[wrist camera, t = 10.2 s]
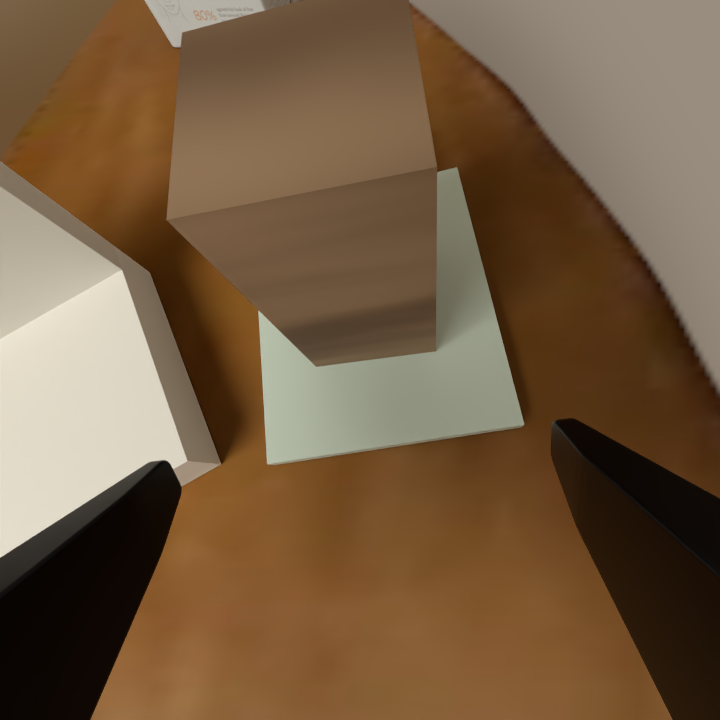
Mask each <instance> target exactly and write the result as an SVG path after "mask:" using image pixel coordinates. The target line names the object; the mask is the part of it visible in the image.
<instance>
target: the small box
mask: <svg viewBox="0 0 720 720" xmlns="http://www.w3.org/2000/svg"><path fill="white" fill-rule="evenodd" d="M298 1H301V0H145V2H146V4H147V5H148V7H149V9H150V10H151V12H152V13H153V15H154V17H155V18H156V20H157V22H158V23H159V25H160V27H161V28H162V30H163V31H164V33H165V35H166V36H167V38H168V39H169V41H170V43H171V44H172V46H173V47H181V38H182V32H186V31H190V30H194V29H197V28H201V27H205V26H208V25H212V24H216V23H220V22H223V21H227V20H231V19H235V18H238V17H242V16H246V15H249V14H253V13H257V12H261V11H264V10H268V9H272V8H276V7H279V6H283V5H287V4H291V3H294V2H298Z"/></svg>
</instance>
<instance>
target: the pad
mask: <svg viewBox="0 0 720 720" xmlns="http://www.w3.org/2000/svg"><path fill="white" fill-rule="evenodd" d="M259 328H260V346H261V363H262V381H263V399H264V417H265V434H266V452H267V464H270V465H278V464H285V463H291V462H298V461H305V460H311V459H318V458H324V457H331V456H337V455H344V454H351V453H357V452H364V451H370V450H377V449H383V448H390V447H396V446H403V445H410V444H416V443H423V442H429V441H436V440H442V439H449V438H455V437H462V436H469V435H475V434H482V433H488V432H495V431H501V430H508V429H514V428H520V427H522V426H523V425H524V421H523V417H522V414H521V410H520V406H519V402H518V398H517V394H516V391H515V387H514V383H513V379H512V375H511V372H510V368H509V364H508V360H507V356H506V352H505V349H504V345H503V341H502V337H501V333H500V329H499V326H498V322H497V318H496V314H495V310H494V307H493V303H492V299H491V295H490V291H489V287H488V284H487V280H486V276H485V272H484V268H483V264H482V261H481V257H480V253H479V249H478V245H477V242H476V238H475V234H474V230H473V226H472V222H471V219H470V215H469V211H468V207H467V203H466V199H465V196H464V192H463V188H462V184H461V180H460V177H459V173H458V169H457V167H456V168H452V169H448V170H443V171H439V172H437V278H436V351H435V352H427V353H419V354H411V355H404V356H396V357H388V358H381V359H373V360H365V361H358V362H350V363H342V364H335V365H327V366H319V367H316V366H315V365H314V364H313V363H312V362H311V361H310V360H309V359H308V358H307V357H306V356H305V355H304V354H303V353H302V352H301V351H299V350H298V349H297V348H296V347H295V346H294V345H293V344H292V343H291V342H290V341H289V340H288V339H287V338H286V337H285V336H284V335H283V334H282V333H281V332H280V331H279V330H278V329H277V328H276V327H275V326H274V325H273V324H272V323H271V322H270V321H269V320H268V319H267V318H266V317H265V316H264V315H263V314H262V313H261V312H260V311H259Z"/></svg>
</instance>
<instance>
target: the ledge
mask: <svg viewBox="0 0 720 720" xmlns="http://www.w3.org/2000/svg"><path fill="white" fill-rule="evenodd" d="M159 460H166V461H168V462H169V463H170V464H171V466H172V468H173V470H174V472H175V474H176V476H177V478H178V480H179V482H180V484H181V487H182V486H183V485H185V484H187V483H189V482H191V481H192V480H194V479H196V478H198V477H199V476H201V475H203V474H205V473H207V472H208V471H210V470H212V469H214V468H216V467H217V466H219V465H221V462H220V459H219V457H218V454H217V451H216V449H215V446H214V443H213V441H212V438H211V435H210V433H209V430H208V427H207V424H206V422H205V419H204V416H203V414H202V411H201V408H200V406H199V403H198V400H197V398H196V395H195V392H194V390H193V387H192V384H191V381H190V379H189V376H188V373H187V371H186V368H185V365H184V363H183V360H182V357H181V355H180V352H179V349H178V347H177V344H176V341H175V338H174V336H173V333H172V330H171V328H170V325H169V322H168V320H167V317H166V314H165V312H164V309H163V306H162V304H161V301H160V298H159V295H158V293H157V290H156V287H155V285H154V282H153V279H152V277H151V274H150V272H149V271H147V270H146V269H145V268H143V267H142V266H141V265H139V264H138V263H137V262H135V261H134V260H133V259H131V258H130V257H129V256H127V255H126V254H124V253H123V252H122V251H120V250H119V249H118V248H116V247H115V246H114V245H112V244H111V243H110V242H108V241H107V240H106V239H104V238H103V237H102V236H100V235H99V234H97V233H96V232H95V231H93V230H92V229H91V228H89V227H88V226H87V225H85V224H84V223H83V222H81V221H80V220H79V219H77V218H76V217H75V216H73V215H72V214H70V213H69V212H68V211H66V210H65V209H64V208H62V207H61V206H60V205H58V204H57V203H56V202H54V201H53V200H52V199H50V198H49V197H48V196H46V195H45V194H43V193H42V192H41V191H39V190H38V189H37V188H35V187H34V186H33V185H31V184H30V183H29V182H27V181H26V180H25V179H23V178H22V177H21V176H19V175H18V174H17V173H15V172H14V171H12V170H11V169H10V168H8V167H7V166H6V165H4V164H3V163H2V162H0V557H2V556H4V555H5V554H7V553H8V552H10V551H11V550H13V549H14V548H16V547H18V546H19V545H21V544H22V543H24V542H25V541H27V540H28V539H30V538H32V537H33V536H35V535H36V534H38V533H39V532H41V531H42V530H44V529H46V528H47V527H49V526H50V525H52V524H53V523H55V522H56V521H58V520H60V519H61V518H63V517H64V516H66V515H67V514H69V513H70V512H72V511H74V510H75V509H77V508H78V507H80V506H81V505H83V504H84V503H86V502H88V501H89V500H91V499H92V498H94V497H95V496H97V495H99V494H100V493H102V492H103V491H105V490H106V489H108V488H109V487H111V486H113V485H114V484H116V483H117V482H119V481H120V480H122V479H123V478H125V477H127V476H128V475H130V474H131V473H133V472H134V471H136V470H137V469H139V468H141V467H142V466H144V465H145V464H147V463H149V462H151V461H159Z"/></svg>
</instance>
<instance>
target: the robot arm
mask: <svg viewBox="0 0 720 720" xmlns="http://www.w3.org/2000/svg"><path fill="white" fill-rule="evenodd" d="M551 456H552V460H553V463H554V466H555V469H556V472H557V474H558V477H559V480H560V483H561V485H562V488H563V491H564V494H565V497H566V499H567V502H568V505H569V508H570V510H571V513H572V516H573V518H574V521H575V524H576V526H577V528H578V530H579V533H580V535H581V537H582V539H583V541H584V543H585V545H586V547H587V549H588V551H589V553H590V555H591V557H592V559H593V561H594V563H595V565H596V567H597V569H598V571H599V573H600V575H601V577H602V579H603V581H604V583H605V585H606V587H607V589H608V591H609V593H610V595H611V597H612V599H613V601H614V603H615V605H616V607H617V609H618V611H619V613H620V615H621V617H622V619H623V621H624V623H625V625H626V627H627V629H628V631H629V633H630V635H631V637H632V639H633V641H634V643H635V645H636V647H637V649H638V651H639V653H640V655H641V657H642V659H643V661H644V663H645V665H646V667H647V669H648V671H649V673H650V675H651V677H652V679H653V681H654V683H655V685H656V687H657V689H658V691H659V693H660V695H661V697H662V699H663V701H664V703H665V705H666V707H667V709H668V711H669V713H670V715H671V717H672V719H673V720H720V499H719V498H718V497H716V496H714V495H712V494H710V493H709V492H707V491H705V490H703V489H701V488H699V487H698V486H696V485H694V484H692V483H690V482H689V481H687V480H685V479H683V478H681V477H680V476H678V475H676V474H674V473H672V472H670V471H669V470H667V469H665V468H663V467H661V466H660V465H658V464H656V463H654V462H652V461H651V460H649V459H647V458H645V457H643V456H642V455H640V454H638V453H636V452H634V451H632V450H631V449H629V448H627V447H625V446H623V445H622V444H620V443H618V442H616V441H614V440H613V439H611V438H609V437H607V436H605V435H603V434H602V433H600V432H598V431H596V430H594V429H593V428H591V427H589V426H587V425H585V424H584V423H582V422H580V421H578V420H576V419H573V418H568V419H559V420H555V421H553V423H552V431H551ZM180 496H181V484H180V482H179V480H178V478H177V476H176V474H175V472H174V470H173V468H172V466H171V464H170V463H169V462H168V461H166V460H159V461H151V462H149V463H147V464H145V465H144V466H142V467H141V468H139V469H137V470H136V471H134V472H133V473H131V474H130V475H128V476H127V477H125V478H123V479H122V480H120V481H119V482H117V483H116V484H114V485H113V486H111V487H109V488H108V489H106V490H105V491H103V492H102V493H100V494H99V495H97V496H95V497H94V498H92V499H91V500H89V501H88V502H86V503H84V504H83V505H81V506H80V507H78V508H77V509H75V510H74V511H72V512H70V513H69V514H67V515H66V516H64V517H63V518H61V519H60V520H58V521H56V522H55V523H53V524H52V525H50V526H49V527H47V528H46V529H44V530H42V531H41V532H39V533H38V534H36V535H35V536H33V537H32V538H30V539H28V540H27V541H25V542H24V543H22V544H21V545H19V546H18V547H16V548H14V549H13V550H11V551H10V552H8V553H7V554H5V555H4V556H2V557H0V720H90V719H91V717H92V715H93V712H94V710H95V708H96V705H97V703H98V701H99V699H100V696H101V694H102V692H103V689H104V687H105V685H106V682H107V680H108V678H109V675H110V673H111V671H112V668H113V666H114V664H115V661H116V659H117V657H118V654H119V652H120V650H121V647H122V645H123V643H124V641H125V638H126V636H127V634H128V631H129V629H130V627H131V624H132V622H133V620H134V617H135V615H136V613H137V610H138V608H139V606H140V603H141V601H142V599H143V596H144V594H145V592H146V589H147V587H148V585H149V582H150V580H151V578H152V576H153V573H154V571H155V569H156V566H157V564H158V561H159V559H160V557H161V554H162V551H163V548H164V546H165V543H166V540H167V536H168V533H169V530H170V527H171V524H172V521H173V518H174V515H175V512H176V509H177V506H178V502H179V499H180Z"/></svg>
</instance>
